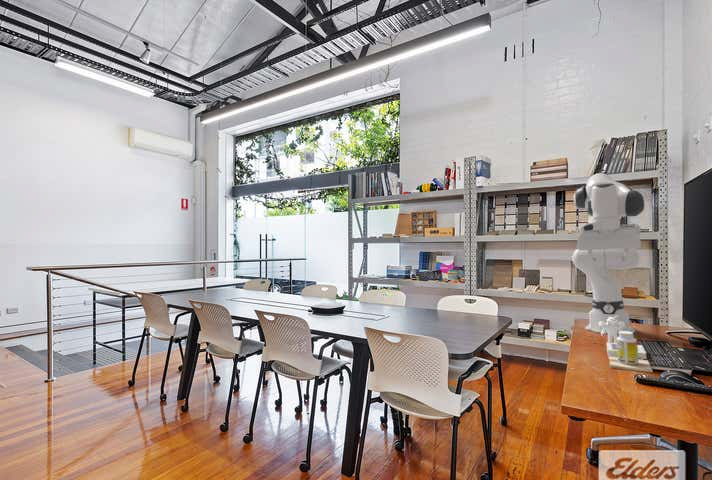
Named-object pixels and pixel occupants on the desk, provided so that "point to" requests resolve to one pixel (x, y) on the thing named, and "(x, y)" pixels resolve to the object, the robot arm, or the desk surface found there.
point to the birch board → (640, 366)
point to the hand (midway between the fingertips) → (608, 261)
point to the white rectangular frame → (613, 352)
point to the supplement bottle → (627, 348)
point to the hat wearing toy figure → (611, 328)
